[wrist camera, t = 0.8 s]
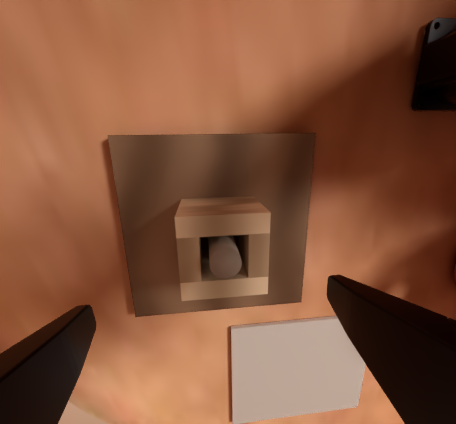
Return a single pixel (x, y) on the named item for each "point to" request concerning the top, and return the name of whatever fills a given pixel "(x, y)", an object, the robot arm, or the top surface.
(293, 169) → the post stand
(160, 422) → the top surface
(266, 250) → the collar
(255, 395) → the mat
